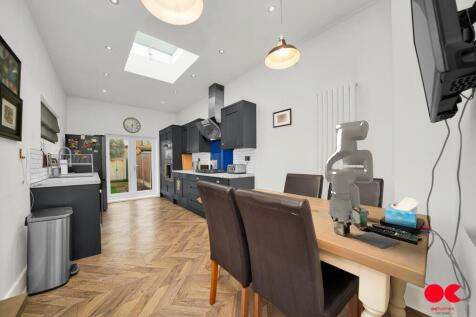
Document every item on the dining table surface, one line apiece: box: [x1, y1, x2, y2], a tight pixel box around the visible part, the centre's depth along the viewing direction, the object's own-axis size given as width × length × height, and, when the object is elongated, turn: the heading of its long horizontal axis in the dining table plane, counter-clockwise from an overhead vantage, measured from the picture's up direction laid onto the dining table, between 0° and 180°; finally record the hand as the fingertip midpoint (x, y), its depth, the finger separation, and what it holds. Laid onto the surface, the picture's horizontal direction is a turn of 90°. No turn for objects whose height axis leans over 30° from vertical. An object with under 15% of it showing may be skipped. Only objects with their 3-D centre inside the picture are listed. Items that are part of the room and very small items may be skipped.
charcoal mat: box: [353, 231, 401, 250], centre depth 82 cm, size 12×12×1 cm
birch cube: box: [333, 220, 348, 236], centre depth 90 cm, size 5×5×5 cm
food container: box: [352, 206, 370, 231], centre depth 97 cm, size 12×6×10 cm, turn 168°
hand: (341, 231), depth 90 cm, fingers closed on birch cube, 5 cm apart
